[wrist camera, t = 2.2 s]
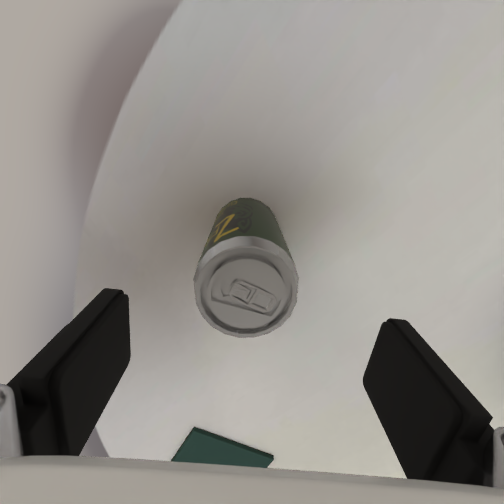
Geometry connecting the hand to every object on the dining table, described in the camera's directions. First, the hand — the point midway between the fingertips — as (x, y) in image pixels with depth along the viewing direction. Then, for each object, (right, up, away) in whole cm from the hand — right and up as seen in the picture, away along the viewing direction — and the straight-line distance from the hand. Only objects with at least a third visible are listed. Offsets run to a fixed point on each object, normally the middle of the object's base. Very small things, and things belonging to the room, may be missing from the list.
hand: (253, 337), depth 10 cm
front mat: (-5, -25, +26) cm, 36 cm away
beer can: (-1, +5, +15) cm, 16 cm away
